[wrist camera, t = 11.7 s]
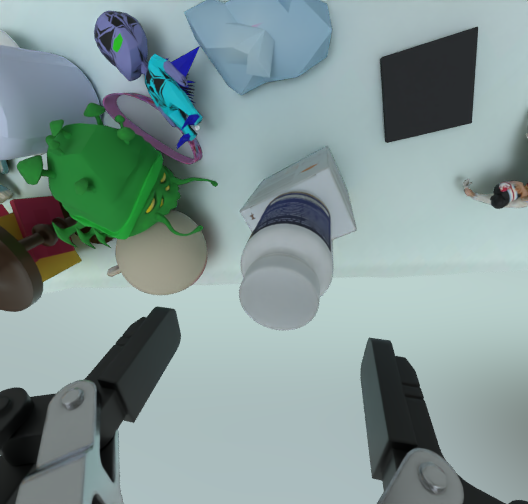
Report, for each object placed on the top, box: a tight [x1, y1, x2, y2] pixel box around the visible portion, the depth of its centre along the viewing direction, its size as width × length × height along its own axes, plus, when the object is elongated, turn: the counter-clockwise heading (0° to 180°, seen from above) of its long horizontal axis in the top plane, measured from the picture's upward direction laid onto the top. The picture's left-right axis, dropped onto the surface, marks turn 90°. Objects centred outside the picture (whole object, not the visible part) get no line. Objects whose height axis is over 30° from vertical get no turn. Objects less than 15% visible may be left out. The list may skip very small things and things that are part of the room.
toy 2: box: [107, 210, 207, 295], centre depth 33 cm, size 10×12×10 cm
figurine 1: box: [94, 11, 203, 149], centre depth 25 cm, size 7×6×12 cm
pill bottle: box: [239, 190, 333, 330], centre depth 17 cm, size 5×5×10 cm
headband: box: [103, 93, 202, 164], centre depth 29 cm, size 11×4×2 cm, turn 59°
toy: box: [0, 196, 82, 282], centre depth 36 cm, size 13×10×15 cm
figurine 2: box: [17, 103, 218, 249], centre depth 25 cm, size 13×15×10 cm
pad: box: [380, 27, 478, 143], centre depth 24 cm, size 7×7×1 cm
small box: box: [240, 146, 357, 240], centre depth 26 cm, size 8×6×10 cm
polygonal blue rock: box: [184, 0, 332, 95], centre depth 23 cm, size 13×7×5 cm, turn 94°
